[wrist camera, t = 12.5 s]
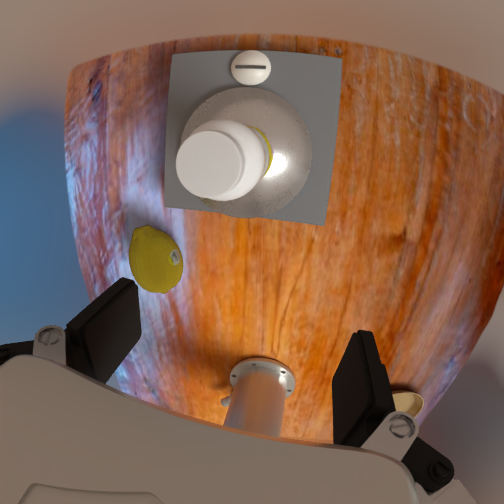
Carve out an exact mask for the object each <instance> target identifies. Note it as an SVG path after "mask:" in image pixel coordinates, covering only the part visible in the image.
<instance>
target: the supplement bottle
mask: <svg viewBox="0 0 504 504" xmlns="http://www.w3.org/2000/svg"><path fill="white" fill-rule="evenodd" d="M273 157H274V151H273V146H272V143H271V141H270V139H269V137H268V136H267V135H266V134H265V133H264V132H263V131H262V130H261V129H259V128H257V127H255V126H253V125H249V124H245V123H241V122H238V121H234V120H230V119H216V120H212V121H209V122H206V123H204V124H202V125H201V126H199V127H198V128H197V129H195V130H194V131H193V132H192V133H191V135H190V136H189V137H188V138H187V139H186V140H185V141H184V142H183V143H182V145H181V146H180V148H179V150H178V153H177V157H176V171H177V175H178V178H179V180H180V182H181V183H182V185H183V186H184V187H185V188H186V189H187V190H188V191H189V192H191V193H192V194H194V195H196V196H199V197H203V198H209V199H212V200H217V201H228V200H233V199H237V198H239V197H241V196H243V195H245V194H246V193H248V192H249V191H250V190H251V189H252V188H253V187H254V186H255V185H256V184H257V183H258V182H259V181H260V180H261V179H262V178H263V177H264V176H265V175H266V174H267V172H268V171H269V169H270V167H271V165H272V162H273Z"/></svg>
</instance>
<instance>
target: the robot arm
mask: <svg viewBox="0 0 504 504" xmlns="http://www.w3.org/2000/svg"><path fill="white" fill-rule="evenodd" d="M66 326H67V328H66V329H65V330H63V329H62V328H61V327H59V326H56V325H49V326H45V327H43V328H41V329H40V330H39V331H38V332H37V333H36V335H35V338H34V340H33V341H25V342H18V343H10V344H4V345H1V346H0V504H477V503H476V502H475V501H474V499H473V498H472V497H471V495H470V494H469V493H468V491H467V490H466V489H465V487H464V486H463V485H462V484H461V482H460V481H459V480H458V479H457V480H456V481H455V480H454V479H453V476H454V467H453V465H452V463H451V461H450V460H449V459H447V458H446V457H445V456H443V455H442V454H441V453H439V452H438V451H436V450H435V449H434V448H432V447H431V446H430V445H428V444H426V443H425V442H424V441H422V440H421V439H420V438H418V437H417V434H418V432H419V429H418V428H419V426H418V424H417V421H416V420H415V419H414V417H412V416H411V415H410V414H408V413H406V412H402V411H396V408H395V403H394V399H393V395H392V391H391V387H390V383H389V379H388V375H387V371H386V368H385V365H384V364H381V361H380V357H379V353H378V350H377V346H376V343H375V339H374V336H373V333H372V332H371V331H364V330H358V332H357V333H355V332H354V333H353V334H352V336H351V339H350V341H349V343H348V346H347V348H346V350H345V353H344V355H343V357H342V359H341V361H340V364H339V366H338V368H337V370H336V372H335V374H334V376H333V379H332V400H333V442H334V444H326V443H317V442H309V441H301V440H294V439H288V438H281V437H280V435H281V428H282V420H283V413H284V405H285V398H287V397H289V396H290V395H291V394H292V392H293V391H294V388H295V382H296V381H295V376H294V374H293V373H292V371H291V370H290V369H289V368H288V367H287V366H285V365H283V364H282V363H280V362H277V361H275V360H271V359H267V358H249V359H245V360H243V361H240V362H238V363H237V364H236V365H235V366H234V367H233V368H232V371H231V373H230V383H231V385H232V387H233V388H234V389H233V392H232V393H230V396H227V397H225V398H223V399H221V404H222V405H223V406H224V407H227V406H229V408H228V412H227V415H226V418H225V421H224V425H219V424H215V423H211V422H208V421H204V420H201V419H197V418H194V417H191V416H187V415H184V414H181V413H178V412H175V411H172V410H169V409H166V408H163V407H160V406H157V405H155V404H152V403H149V402H147V401H144V400H141V399H139V398H136V397H134V396H131V395H129V394H127V393H124V392H122V391H119V390H117V389H115V388H113V387H110V386H108V385H106V382H107V381H108V380H109V378H110V377H111V376H112V374H113V373H114V372H115V370H116V369H117V368H118V366H119V365H120V364H121V362H122V361H123V360H124V358H125V357H126V356H127V355H128V353H129V352H130V351H131V349H132V348H133V347H134V346H135V344H136V343H137V342H138V340H139V339H140V337H141V333H142V331H141V321H140V310H139V297H138V286H137V285H136V284H135V282H134V281H133V280H131V279H127V278H124V277H122V278H120V279H119V280H118V281H116V282H115V283H114V284H113V285H112V286H110V287H109V288H108V289H107V290H106V291H104V292H103V293H102V294H101V295H100V296H99V297H97V298H96V299H95V300H94V301H93V302H92V303H90V304H89V305H88V306H87V307H86V308H85V309H84V310H82V311H81V312H80V313H79V314H78V315H77V316H76V317H75V318H74V319H72V320H71V321H70V322H69V323H68V324H67V325H66Z"/></svg>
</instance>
